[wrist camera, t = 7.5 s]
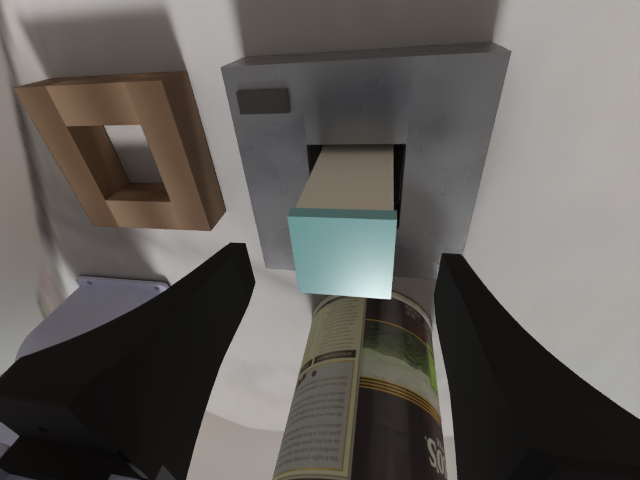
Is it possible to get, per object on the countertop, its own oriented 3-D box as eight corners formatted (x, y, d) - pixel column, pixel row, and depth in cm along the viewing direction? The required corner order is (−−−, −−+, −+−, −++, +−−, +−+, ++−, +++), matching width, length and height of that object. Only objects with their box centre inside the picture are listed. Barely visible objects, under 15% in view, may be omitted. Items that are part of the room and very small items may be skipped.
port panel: (278, 241, 24) (264, 271, 21) (244, 57, 17) (217, 68, 14) (449, 249, 22) (457, 284, 19) (492, 42, 15) (513, 52, 12)
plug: (330, 191, 21) (299, 292, 14) (327, 132, 19) (287, 216, 12) (391, 192, 20) (390, 299, 13) (395, 131, 18) (397, 219, 11)
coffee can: (437, 287, 24) (475, 537, 13) (427, 367, 30) (448, 586, 19) (302, 282, 26) (237, 492, 15) (318, 358, 32) (279, 549, 21)
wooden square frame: (116, 207, 25) (93, 225, 23) (51, 78, 20) (13, 87, 18) (226, 211, 23) (210, 230, 21) (186, 71, 18) (161, 80, 16)
